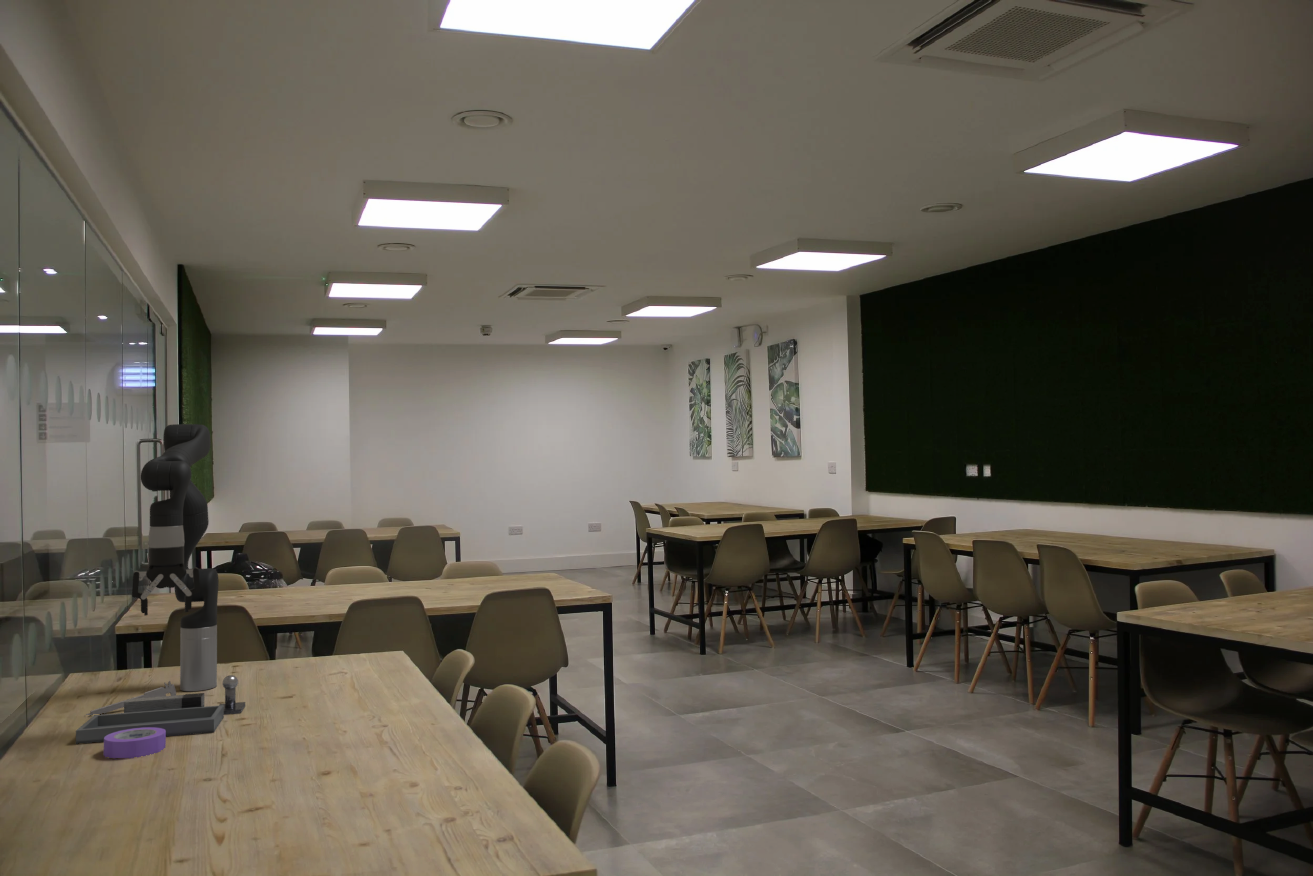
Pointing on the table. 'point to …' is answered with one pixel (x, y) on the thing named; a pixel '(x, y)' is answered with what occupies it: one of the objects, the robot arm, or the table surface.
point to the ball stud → (231, 696)
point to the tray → (153, 722)
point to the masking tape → (134, 742)
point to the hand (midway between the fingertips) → (166, 613)
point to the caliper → (152, 693)
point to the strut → (164, 703)
